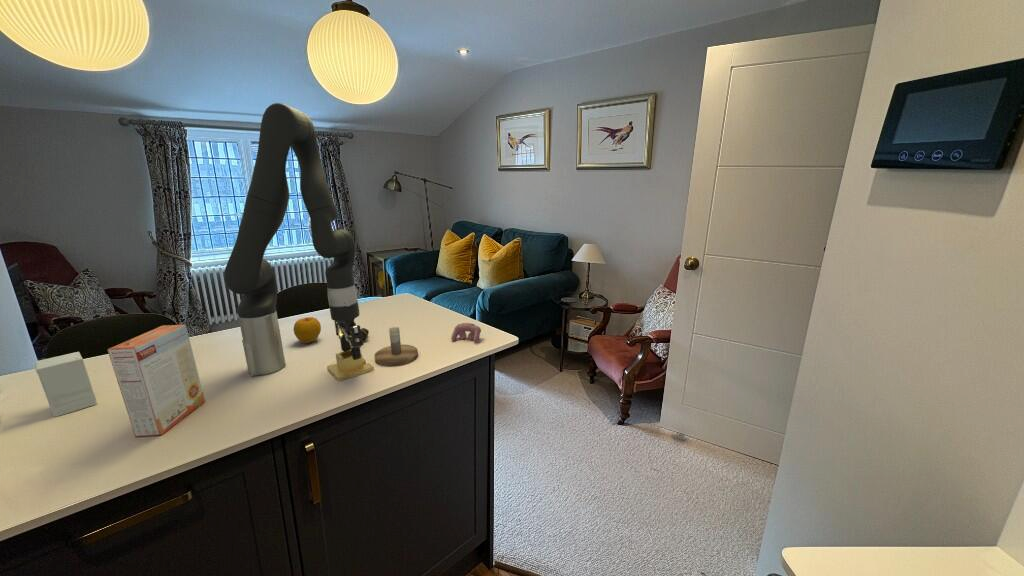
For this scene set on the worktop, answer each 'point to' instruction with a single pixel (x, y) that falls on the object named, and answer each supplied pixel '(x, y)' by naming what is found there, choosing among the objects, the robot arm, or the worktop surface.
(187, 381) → the cracker box
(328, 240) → the robot arm
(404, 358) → the post base
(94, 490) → the worktop surface
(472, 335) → the purple arched piece
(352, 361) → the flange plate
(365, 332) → the dark brown dumbbell
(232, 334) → the worktop surface
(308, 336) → the apple
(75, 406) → the supplement box
